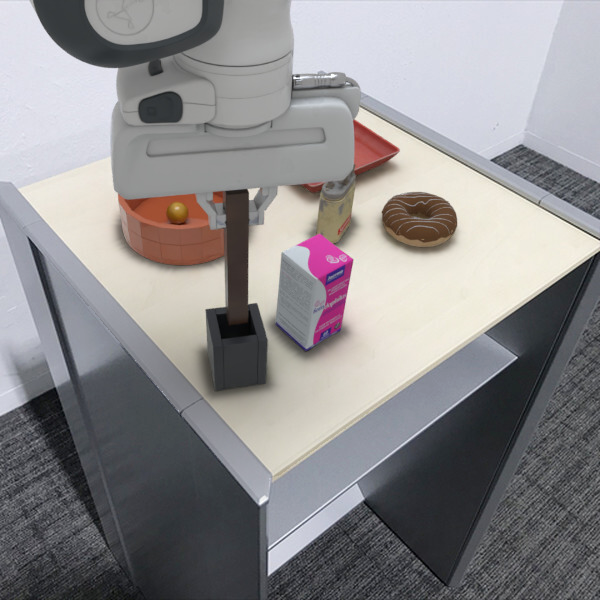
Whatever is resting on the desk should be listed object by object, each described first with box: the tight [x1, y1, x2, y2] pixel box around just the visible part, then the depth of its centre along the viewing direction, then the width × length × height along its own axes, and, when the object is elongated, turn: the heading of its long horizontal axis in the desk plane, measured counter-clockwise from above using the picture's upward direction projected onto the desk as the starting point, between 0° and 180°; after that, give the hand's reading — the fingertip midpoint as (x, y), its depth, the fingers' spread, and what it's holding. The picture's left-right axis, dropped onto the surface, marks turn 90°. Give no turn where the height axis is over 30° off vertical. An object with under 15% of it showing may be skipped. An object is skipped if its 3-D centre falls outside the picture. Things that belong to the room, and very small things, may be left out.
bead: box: [166, 202, 189, 224], centre depth 90 cm, size 3×3×3 cm
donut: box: [381, 191, 458, 248], centre depth 93 cm, size 11×11×4 cm
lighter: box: [315, 164, 357, 244], centre depth 90 cm, size 7×4×10 cm, turn 155°
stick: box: [223, 189, 250, 325], centre depth 63 cm, size 2×2×16 cm
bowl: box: [117, 191, 224, 266], centre depth 90 cm, size 17×17×6 cm
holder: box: [205, 302, 269, 392], centre depth 72 cm, size 6×6×7 cm
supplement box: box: [274, 234, 354, 352], centre depth 75 cm, size 6×6×12 cm
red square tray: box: [300, 118, 401, 194], centre depth 105 cm, size 18×18×3 cm
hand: (235, 223), depth 60 cm, fingers closed on stick, 2 cm apart
